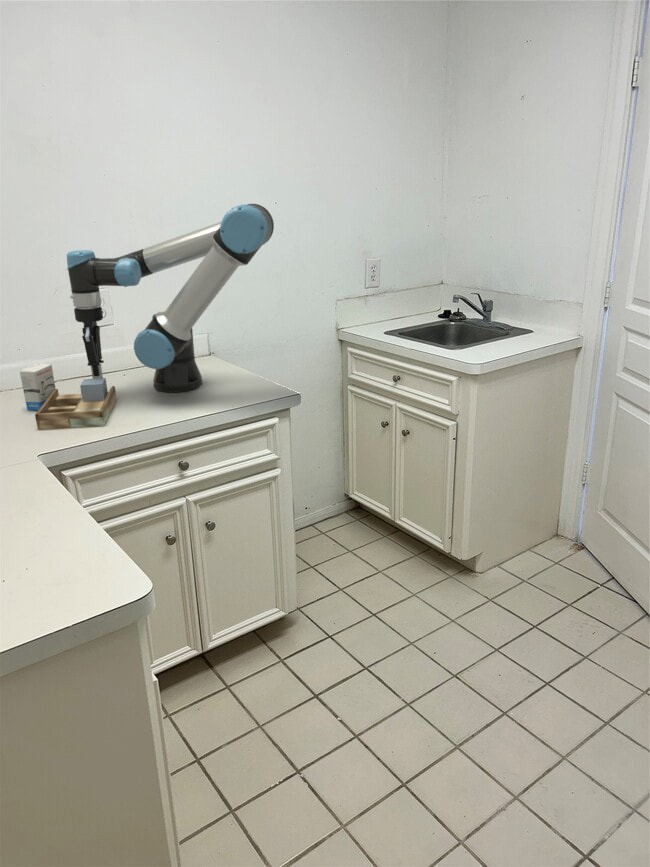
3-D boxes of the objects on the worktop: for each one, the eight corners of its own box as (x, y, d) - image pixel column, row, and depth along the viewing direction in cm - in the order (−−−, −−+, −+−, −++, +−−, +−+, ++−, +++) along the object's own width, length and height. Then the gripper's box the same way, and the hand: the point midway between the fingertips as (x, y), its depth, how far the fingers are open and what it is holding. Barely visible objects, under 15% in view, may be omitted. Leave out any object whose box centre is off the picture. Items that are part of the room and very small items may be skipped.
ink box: (41, 411, 183) (34, 371, 178) (26, 410, 184) (18, 370, 179) (59, 401, 190) (52, 363, 186) (44, 400, 191) (37, 362, 187)
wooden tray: (116, 399, 192) (114, 386, 190) (104, 425, 172) (102, 410, 170) (57, 402, 190) (54, 389, 188) (37, 429, 169) (34, 414, 168)
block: (107, 394, 189) (105, 378, 187) (104, 400, 183) (102, 384, 182) (86, 395, 188) (84, 379, 186) (82, 402, 183) (80, 385, 181)
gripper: (79, 302, 189) (90, 379, 198) (68, 311, 177) (81, 392, 186) (105, 302, 190) (115, 378, 199) (96, 310, 178) (108, 391, 187)
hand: (98, 385), depth 192 cm, fingers closed
